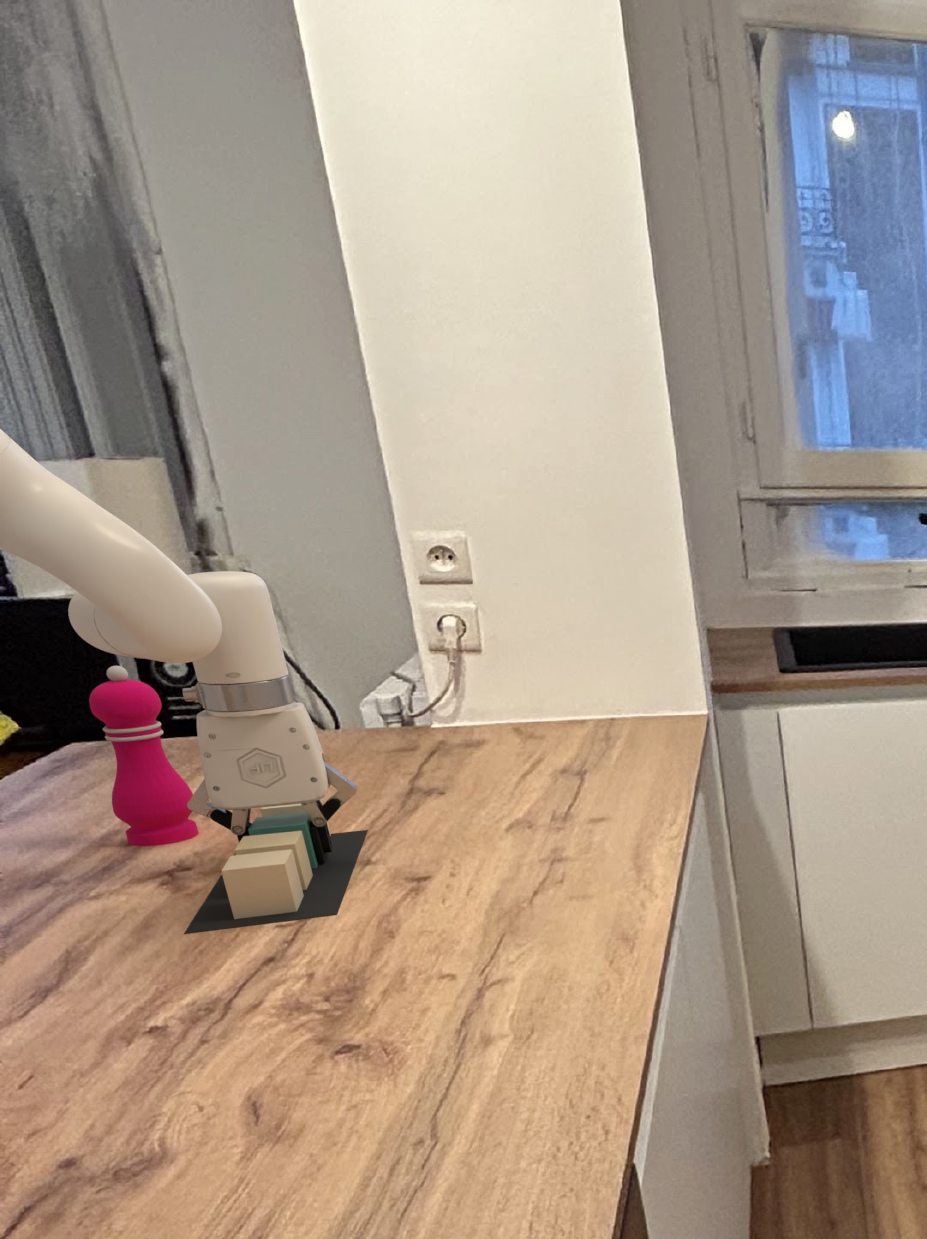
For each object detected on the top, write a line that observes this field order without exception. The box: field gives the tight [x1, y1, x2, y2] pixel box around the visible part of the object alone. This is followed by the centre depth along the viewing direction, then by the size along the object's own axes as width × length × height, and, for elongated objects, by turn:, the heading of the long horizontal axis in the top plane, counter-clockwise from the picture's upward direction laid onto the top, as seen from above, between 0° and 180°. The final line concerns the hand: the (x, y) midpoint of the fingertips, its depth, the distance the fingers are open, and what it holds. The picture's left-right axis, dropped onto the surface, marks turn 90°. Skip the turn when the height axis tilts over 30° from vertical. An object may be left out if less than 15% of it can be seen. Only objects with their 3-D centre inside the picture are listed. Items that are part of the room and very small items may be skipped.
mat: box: [183, 829, 369, 935], centre depth 142 cm, size 12×31×1 cm, turn 28°
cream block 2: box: [233, 831, 313, 890], centre depth 138 cm, size 5×5×5 cm
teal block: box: [248, 813, 319, 869], centre depth 145 cm, size 5×5×5 cm
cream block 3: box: [220, 849, 304, 919], centre depth 133 cm, size 5×5×5 cm
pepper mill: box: [88, 665, 199, 847], centre depth 150 cm, size 7×7×20 cm
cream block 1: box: [260, 797, 332, 836], centre depth 152 cm, size 5×5×5 cm
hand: (291, 861), depth 145 cm, fingers closed on teal block, 5 cm apart
